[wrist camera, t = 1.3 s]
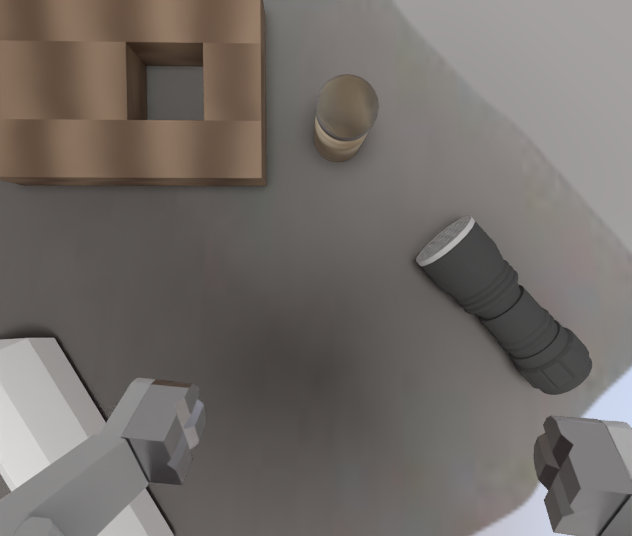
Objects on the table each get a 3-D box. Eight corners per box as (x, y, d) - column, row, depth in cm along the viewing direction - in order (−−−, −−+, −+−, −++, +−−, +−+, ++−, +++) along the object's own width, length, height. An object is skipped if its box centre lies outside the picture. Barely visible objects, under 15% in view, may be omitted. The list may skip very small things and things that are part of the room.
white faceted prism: (196, 574, 33) (35, 309, 32) (105, 657, 30) (-80, 362, 29) (178, 541, 40) (44, 319, 39) (102, 606, 36) (-49, 363, 35)
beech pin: (313, 162, 36) (315, 138, 28) (313, 113, 36) (315, 74, 28) (361, 162, 36) (378, 138, 28) (362, 113, 36) (378, 74, 28)
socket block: (23, 185, 35) (-13, 177, 31) (17, 11, 35) (-20, -20, 31) (266, 185, 36) (261, 177, 32) (265, 14, 35) (260, -16, 31)
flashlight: (571, 346, 37) (616, 362, 32) (526, 388, 38) (563, 411, 32) (455, 217, 37) (481, 212, 31) (408, 261, 37) (427, 263, 31)
